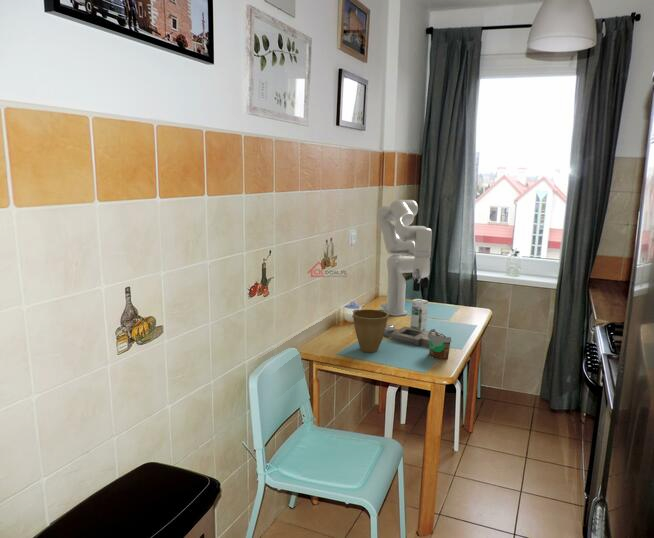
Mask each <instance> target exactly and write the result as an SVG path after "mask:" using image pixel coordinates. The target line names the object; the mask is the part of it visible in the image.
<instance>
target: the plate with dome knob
mask: <svg viewBox="0 0 654 538" xmlns="http://www.w3.org/2000/svg"><path fill="white" fill-rule="evenodd" d="M397 330H399V328H398V329H397V328H395V325H393V324H386V328H385V332H384V336H383V337H385V336H386V337H385V338H389V337H390V338H389V339H390V340H391V341H394V340H395V341H396V342H400V343H404V344H407V343H408V345H411V344H412V346H416V345H417V347H419V346H421V345H420V342H419V343H417V342H413V341H408V340H404V339H400V338H395V337H391V333H393V332H395V331H397ZM405 334H407V335H411V336H417V335H418V334H413V333H409V332H407V333H405ZM395 341H394V342H395Z"/></svg>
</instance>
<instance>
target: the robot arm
mask: <svg viewBox="0 0 654 538" xmlns="http://www.w3.org/2000/svg"><path fill="white" fill-rule="evenodd" d="M418 211H419V206H418V203H417V202H416V201H415V200H414V199H396V200H394V201H392V202H391V203H390V204H388V205H382V206H380V207H378V208H377V210H376V221H377V224H378V228H379V229H380V231H381V233H382V236H383V240H384V241H383V242H384V245H385V250H386V252H387V254H389V255H390V256H389V257H388V258H387V260H386V267H387V290H386V291H387V292H386V294H387V295H386V296H387V297H386V303H385V302H381V303H380V307H381V308H384V309H383V312H386V313H387V314H388V316H395V317H401V316H405V315H407V314H408V311H407V310H406V309H405V306H406V305H405V304H406V290H407V289H406V288H407V287H406V286H407V285H406V283H407V282H406V281H407V280H406V279H405V277H404V275H403V274H404V273H408V274H409V273H412V284H413V287H412V291H414V292H420V290H421V287H422V288H424V289H428V288H429V284H430V276H431V259H430V258H431V255H432V237H433V230H432V229H431V228H429V227H426V226H424V225H411V224H412V223H413V222H414V220H415V216H416V215H417V214H418ZM392 222H395V224H393V223H392ZM421 279H422V280H421ZM420 281H421V282H420Z"/></svg>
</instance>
